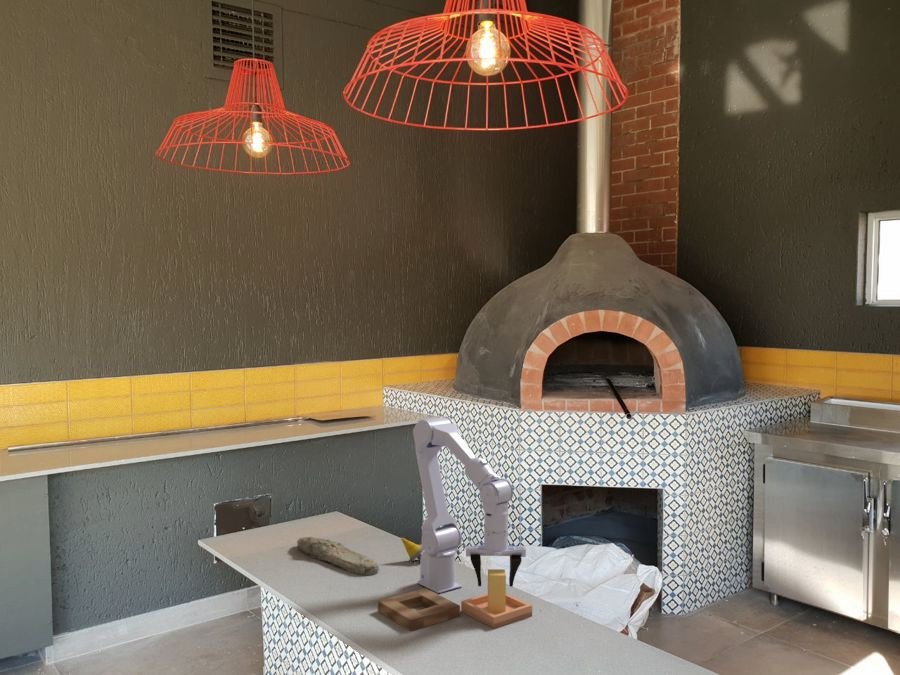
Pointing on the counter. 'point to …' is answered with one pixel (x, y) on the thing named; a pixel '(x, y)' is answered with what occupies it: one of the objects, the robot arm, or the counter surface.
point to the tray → (513, 613)
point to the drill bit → (412, 549)
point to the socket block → (412, 620)
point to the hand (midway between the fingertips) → (495, 584)
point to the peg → (496, 591)
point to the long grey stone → (338, 555)
